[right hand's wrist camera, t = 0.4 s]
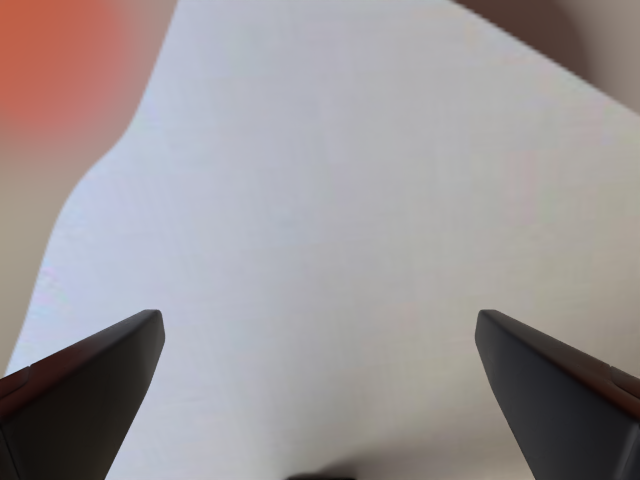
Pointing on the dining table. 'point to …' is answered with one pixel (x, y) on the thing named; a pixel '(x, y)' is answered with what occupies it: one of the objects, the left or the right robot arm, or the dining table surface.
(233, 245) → the dining table surface
